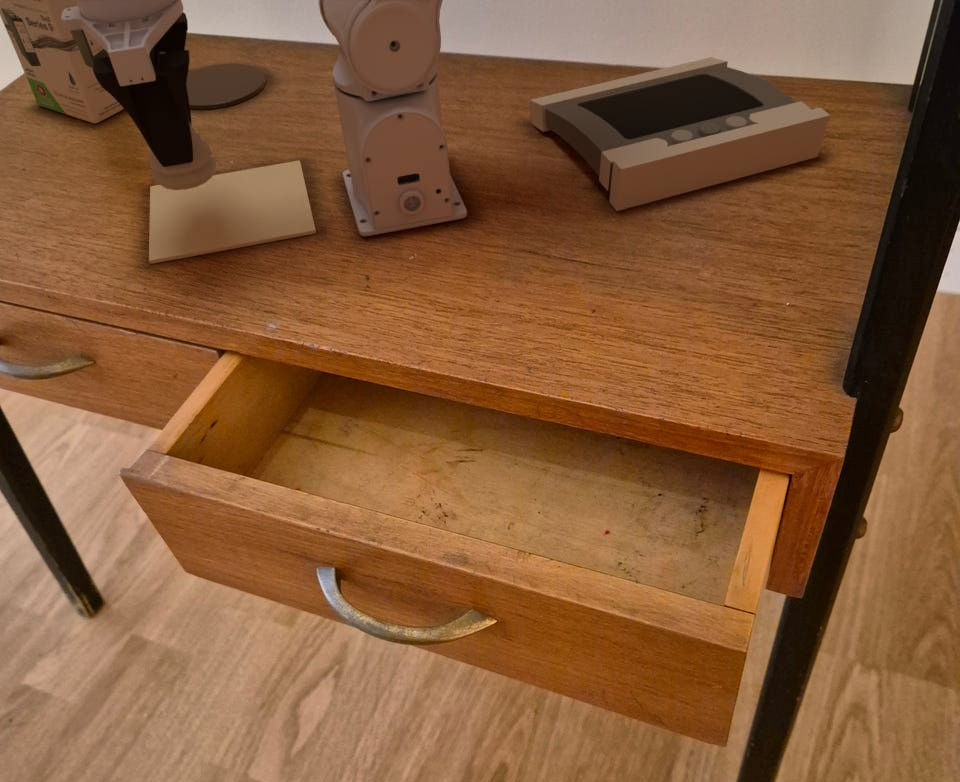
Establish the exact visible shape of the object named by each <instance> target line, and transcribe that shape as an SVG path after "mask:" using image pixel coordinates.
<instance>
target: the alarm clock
mask: <svg viewBox="0 0 960 782" xmlns="http://www.w3.org/2000/svg"><path fill="white" fill-rule="evenodd" d="M728 63H729V61H728V60H724V59H719V58H716V57H712V56H710V57H706V58H702V59H697V60H694V61H689V62H685V63H681V64H677V65H672V66H668V67H664V68H660V69H656V70H651V71H647V72H643V73H638V74H634V75H630V76H625V77H621V78H617V79H613V80H608V81H605V82H600V83H596V84H591V85H586V86H583V87H578V88H575V89H571V90H566V91H562V92H558V93H553V94H549V95H545V96H541V97H537V98H532V99H529V108H530V121H531V125H532V126H533V127H535V128H536V129H538V130H540V131H541V132H542V133H544V132H549V131H552V132H554V133H555V134H556V135H558V136H559V137H560V138H561V139H562V140H564V141H565V142H567V143H568V144H569V145H570V146H571V147H572V148H573V149H574V150H575V151H576V152H577V154H579V155H580V156H581V157H582V158H583V159H584V160H585V161H586V163H587V164H588V165H589V166H590V167H591V169H593V171H594V172H595V173H596V174H597V176H599V177H598V182H599V183H600V184H601V185H602V186H603V187H604V189H605V190H606V191H607V192H609V199H608V200H609V204H610V205H611V206H612V207H613V209H614V210H615V211H616V212H619V211H622V210H627V209H630V208H634V207H637V206H641V205H645V204H649V203H652V202H656V201H659V200H660V201H661V200H663V199H668V198H670V197H673V196H674V197H675V196H678V195H682V194H685V193H690V192H693V191H697V190H700V189H704V188H708V187H711V186H716V185H719V184H723V183H727V182H730V181H734V180H738V179H741V178H745V177H749V176H754V175H756V174H760V173H763V172H764V173H765V172H768V171H771V170H775V169H778V168H782V167H785V166H789V165H793V164H796V163H800V162H804V161H808V160H813V159H816V158H818V156H819V153H820V150H821V147H822V144H823V141H824V136H825V133H826V130H827V128H828V124H829V120H830V117H831V114H829V113H828V112H827V111H826V110H825V109H823V108H822V107H817V108H811V107H809V106H808V105H807V104H805V103H804V102H803V101H802V100H801V101H796V100H795V99H793V98H792V97H791V96H789V95H788V94H787V93H786V92H784V91H782V90H781V89H779V88H778V87H776V86H775V85H772V84H771V83H769V82H767V81H765V80H764V79H762V78H760V77H758V76H755V75H752V74H750V73H747V72H745V71H743V70H739V69H736V68H732V67H729V66H728V65H729V64H728Z"/></svg>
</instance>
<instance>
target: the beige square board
mask: <svg viewBox="0 0 960 782" xmlns="http://www.w3.org/2000/svg"><path fill="white" fill-rule="evenodd" d="M149 189H150V190H149V227H148V228H149V229H148V232H149V233H148V235H149V236H148V237H149V239H148V262H149V264H150V265H152V264H153V265H154V264H158V263H163V262H168V261H169V262H170V261H173V260H179V259H184V258H185V259H187V258H192V257H197V256H202V255H206V254H207V255H208V254H213V253H217V252H218V253H219V252H223V251H228V250H234V249H238V248H239V249H240V248H245V247H250V246H251V247H252V246H255V245H256V246H257V245H260V244H266V243H272V242H279V241H283V240H289V239H294V238H298V237H299V238H300V237H305V236H310V235H315V234H317V229H316V226H315V221H314V217H313V212H312V208H311V207H312V206H311V203H310V199H309V195H308V190H307V186H306V181H305V177H304V172H303V168H302V163H301V160H294V161H293V160H292V161H287V162H283V163H282V162H281V163H276V164H270V165H265V166H259V167H252V168H247V169H242V170H237V171H236V170H235V171H230V172H224V173H220V174H213V175H212V178H210V179H209V180H208V181H207V182H206V183H204V184H202V185H199V186H197V187H194V188H190V189H186V190H171V189H166V188H164V187H163V186H161V185H160V184H156V185H151V186H149Z"/></svg>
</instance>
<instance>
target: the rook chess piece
mask: <svg viewBox="0 0 960 782" xmlns="http://www.w3.org/2000/svg"><path fill="white" fill-rule="evenodd" d="M160 54H165V52H163V51H162V52H160ZM189 124H190V122H189ZM190 130H191V136H192V145H193V162H191V163H185V164H179V165H174V166H168V167H163V166H162V165H161V164H160V162H159V161H158V160H157V158H156V157H155V155H154V154H153V152H152V151H151V150H150V152H149V155H148V156H147V157H148V158H147V159H148V166H149V168H150V169H151V170H153V172H152V173H151V176H152V179H153V181H154V182H156V183H157V185H161V186H163V187H164V188H166V189H171V190H186V189H190V188H194V187H197V186H199V185H202V184H204V183H206V182H207V181H208V180H209V179H210V178H212V175H214V173H215V170H216V167H217V165H218V164H217V162H216V159H215V158H213V157H212V154H213V152H212V149H211V147H210V145H209V144H208V142H206V141H204V140H203V139H202V138H201V135H200V134H199V133H198V132H196V130H195V129H194V128H193V125H192V126H191V124H190Z"/></svg>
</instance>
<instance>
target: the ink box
mask: <svg viewBox="0 0 960 782" xmlns="http://www.w3.org/2000/svg"><path fill="white" fill-rule="evenodd" d="M76 6H78V4H77V1H76V0H0V18H1V21H2V23H3V25H4V28H5V30H6V32H7V35H8V37H9V39H10V42H11V44H12V47H13V49H14V51H15V53H16V56H17V58H18V60H19V63H20V65H21V68H22V70H23V73H24V75H25V77H26V80H27V82H28V85H29V86H30V89H31V92H32V94H33V96H34V99H35V101H36V104H37V105H38V106H39V107H41V108H45V109H49V110H51V111H55V112H57V113H60V114H64V115H67V116H71V117H73V118H76V119H79V120H83V121H86V122H89V123H91V124H99V123H100V122H102V121H104V120H106V119H109V118H110V117H112V116H114V115H115V114H117V113H119V112H121V111H123V110H125V109H124V108H123V107H122V106H121V105H120V104H119V102H118V101H117V100H116V99H115V98H114V97H113V96H112V95H111V94H109V93H108V92H107V91H106V90H105V89H104V88H102V86H101V85H100V84H99V82H98V81H97V79H96V77H95V75H94V72H93V63H94V59H96V58H103V57H109V55H108V52H107V51H106V50H105V49H104V48H103V47H102V46H101V45H100V44H98V43H97V42H96V41H95V40H94V39H93V38H92V37H91V36H90V35H89V34H88V33H87V32H86V31H85V30H82V29H79V30H72V31H69V30H66V29H65V27H64V25H63V22H62V20H61V16H62V12H63V10H64V9H66V8H70V7H76Z"/></svg>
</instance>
